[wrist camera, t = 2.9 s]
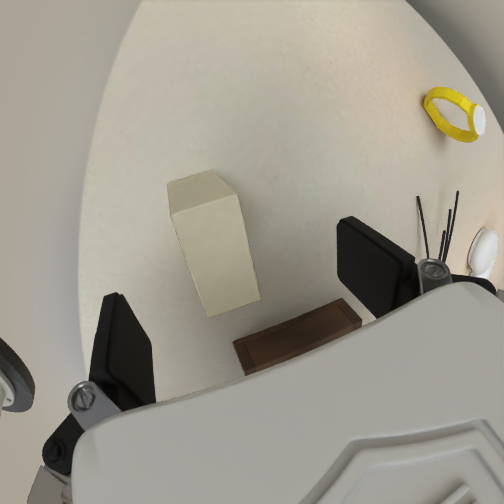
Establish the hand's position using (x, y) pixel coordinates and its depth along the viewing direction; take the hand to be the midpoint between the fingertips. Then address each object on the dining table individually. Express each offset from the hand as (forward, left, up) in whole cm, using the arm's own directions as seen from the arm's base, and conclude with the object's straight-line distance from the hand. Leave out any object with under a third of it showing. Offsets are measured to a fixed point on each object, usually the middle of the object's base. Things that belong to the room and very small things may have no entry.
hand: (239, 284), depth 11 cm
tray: (+5, -28, -8) cm, 30 cm away
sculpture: (+39, -20, -8) cm, 44 cm away
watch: (+23, +5, -8) cm, 25 cm away
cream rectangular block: (0, 0, -8) cm, 8 cm away
